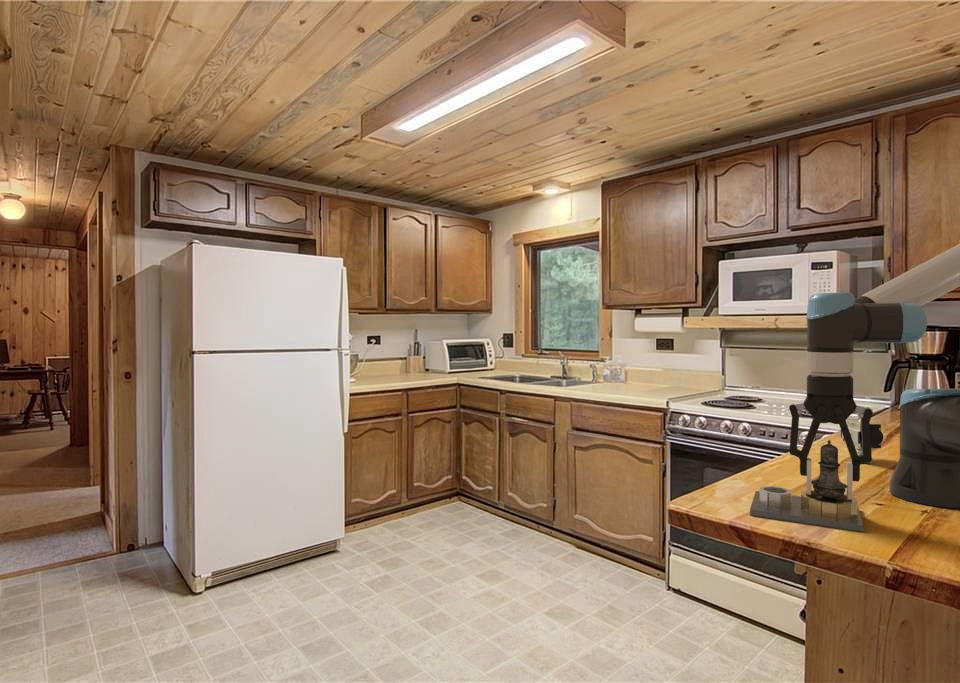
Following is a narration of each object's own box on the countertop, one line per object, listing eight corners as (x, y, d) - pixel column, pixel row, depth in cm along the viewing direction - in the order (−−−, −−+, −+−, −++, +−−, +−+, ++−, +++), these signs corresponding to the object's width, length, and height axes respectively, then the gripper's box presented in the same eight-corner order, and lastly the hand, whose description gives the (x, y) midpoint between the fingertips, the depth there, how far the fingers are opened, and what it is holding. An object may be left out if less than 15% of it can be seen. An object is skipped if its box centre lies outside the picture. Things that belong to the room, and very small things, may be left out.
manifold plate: (857, 509, 111) (857, 491, 111) (863, 532, 99) (863, 511, 98) (755, 496, 120) (755, 479, 120) (749, 515, 108) (750, 496, 108)
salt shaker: (829, 508, 103) (830, 443, 103) (803, 499, 109) (804, 437, 109) (854, 505, 105) (855, 441, 105) (827, 496, 111) (828, 436, 110)
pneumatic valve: (857, 457, 155) (858, 414, 155) (884, 467, 143) (884, 421, 143) (836, 456, 155) (837, 413, 155) (861, 467, 144) (861, 420, 144)
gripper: (888, 374, 105) (887, 497, 105) (774, 371, 114) (774, 483, 115) (893, 377, 98) (892, 508, 99) (772, 374, 108) (772, 493, 109)
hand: (828, 494), depth 107 cm, fingers closed on salt shaker, 6 cm apart
